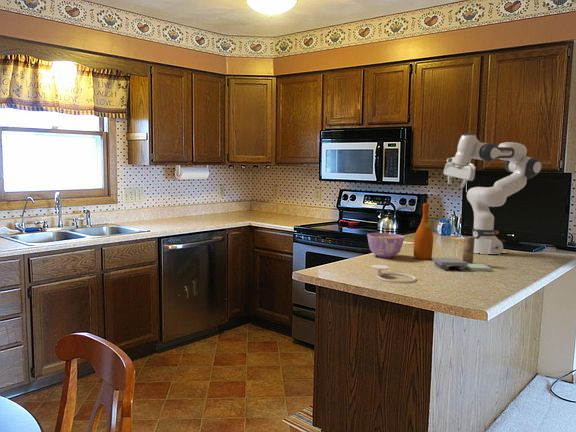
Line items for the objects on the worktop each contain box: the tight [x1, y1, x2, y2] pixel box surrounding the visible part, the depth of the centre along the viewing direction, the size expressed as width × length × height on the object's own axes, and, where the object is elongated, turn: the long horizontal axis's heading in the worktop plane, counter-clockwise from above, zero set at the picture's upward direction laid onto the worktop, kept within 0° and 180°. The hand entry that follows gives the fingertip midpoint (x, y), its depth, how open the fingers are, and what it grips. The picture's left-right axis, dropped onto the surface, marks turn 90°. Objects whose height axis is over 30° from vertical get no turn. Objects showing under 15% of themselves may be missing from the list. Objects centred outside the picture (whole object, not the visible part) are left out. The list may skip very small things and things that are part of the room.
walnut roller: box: [462, 236, 475, 264], centre depth 254 cm, size 5×5×14 cm
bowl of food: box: [366, 232, 405, 259], centre depth 268 cm, size 20×20×12 cm
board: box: [464, 263, 493, 272], centre depth 244 cm, size 10×10×2 cm
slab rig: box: [431, 256, 468, 272], centre depth 243 cm, size 13×13×4 cm
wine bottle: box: [413, 202, 434, 261], centre depth 265 cm, size 10×10×30 cm
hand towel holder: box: [370, 264, 417, 284], centre depth 216 cm, size 17×4×21 cm
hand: (455, 185), depth 280 cm, fingers open, 8 cm apart
